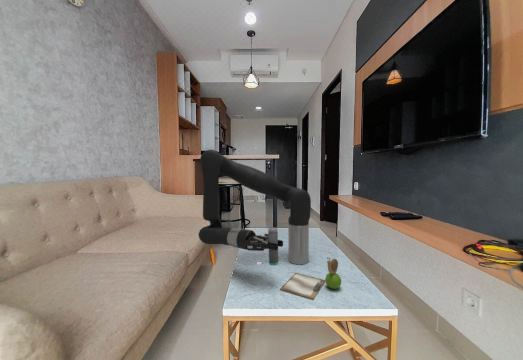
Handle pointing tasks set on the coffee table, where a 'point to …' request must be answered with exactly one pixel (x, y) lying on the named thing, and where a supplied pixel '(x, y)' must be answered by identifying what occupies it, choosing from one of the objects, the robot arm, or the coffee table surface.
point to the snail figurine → (333, 274)
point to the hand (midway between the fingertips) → (280, 245)
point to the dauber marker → (272, 253)
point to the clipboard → (303, 286)
